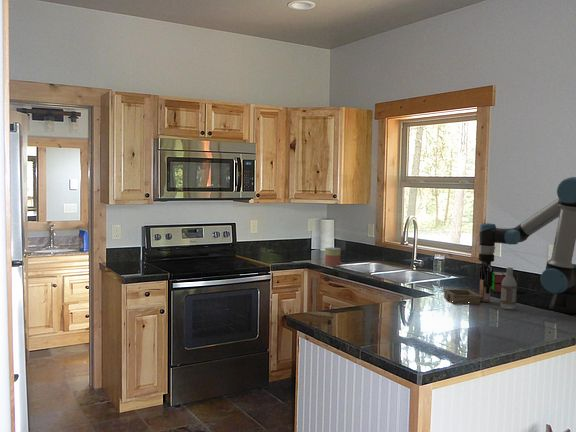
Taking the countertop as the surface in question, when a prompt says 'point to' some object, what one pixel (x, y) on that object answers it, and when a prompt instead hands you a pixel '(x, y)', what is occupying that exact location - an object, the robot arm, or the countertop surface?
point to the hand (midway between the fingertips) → (484, 298)
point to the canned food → (332, 256)
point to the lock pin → (481, 293)
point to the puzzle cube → (497, 281)
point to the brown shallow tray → (462, 296)
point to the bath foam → (508, 290)
